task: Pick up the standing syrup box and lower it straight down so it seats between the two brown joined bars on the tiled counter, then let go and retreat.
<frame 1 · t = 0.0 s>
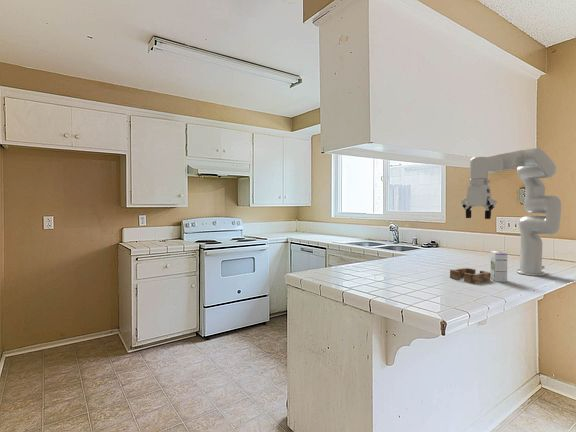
hand: (477, 218, 159), 31 cm above the worktop, tool pointing down, fingers open, 9 cm apart
syrup box: (498, 280, 164), on the worktop
brown joined bars: (469, 279, 167), on the worktop
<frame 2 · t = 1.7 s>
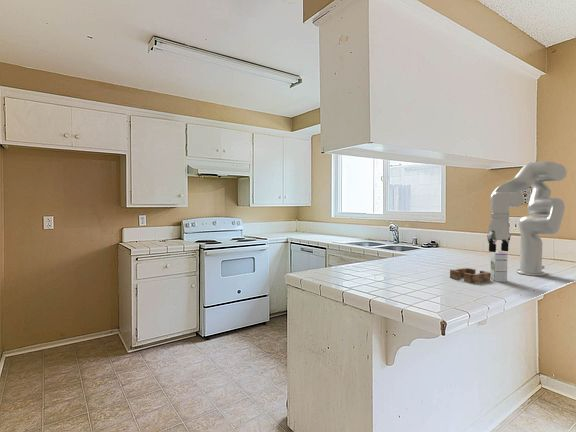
hand: (498, 251, 163), 15 cm above the worktop, tool pointing down, fingers open, 9 cm apart
nothing on the worktop moved.
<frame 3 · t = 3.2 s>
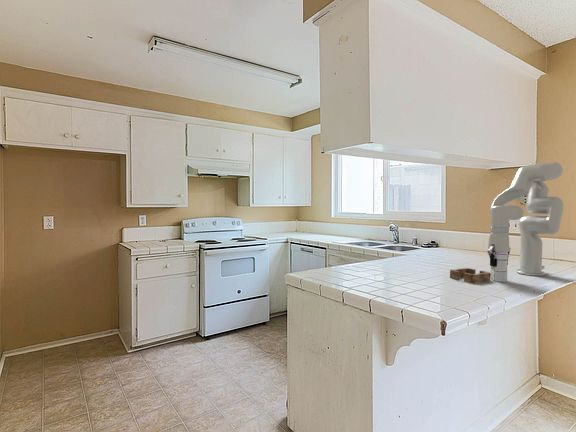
hand: (498, 265, 164), 8 cm above the worktop, tool pointing down, fingers closed on syrup box, 8 cm apart
syrup box: (498, 280, 164), on the worktop, touching gripper
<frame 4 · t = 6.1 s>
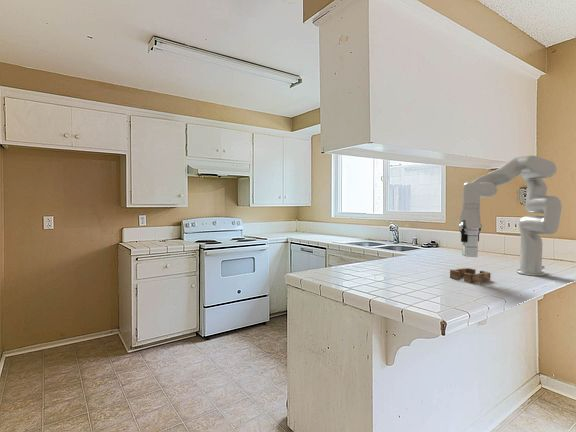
hand: (470, 241, 166), 19 cm above the worktop, tool pointing down, fingers closed on syrup box, 8 cm apart
syrup box: (469, 256, 166), point 12 cm above the worktop, touching gripper
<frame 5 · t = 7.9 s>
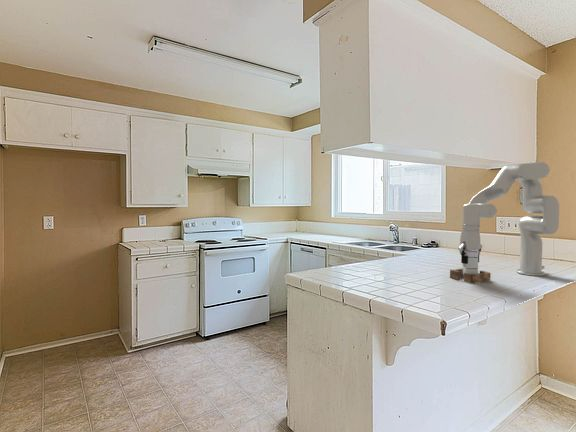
hand: (470, 262, 167), 8 cm above the worktop, tool pointing down, fingers closed on syrup box, 8 cm apart
syrup box: (470, 277, 167), point 1 cm above the worktop, touching gripper
when the fingers open (8 cm above the worktop, at t = 9.2 s): syrup box stays where it is, on the worktop.
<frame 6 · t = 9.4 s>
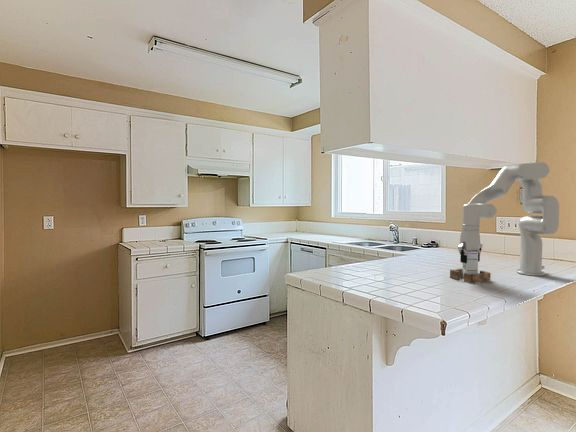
hand: (470, 261, 167), 9 cm above the worktop, tool pointing down, fingers open, 9 cm apart
syrup box: (469, 279, 167), on the worktop
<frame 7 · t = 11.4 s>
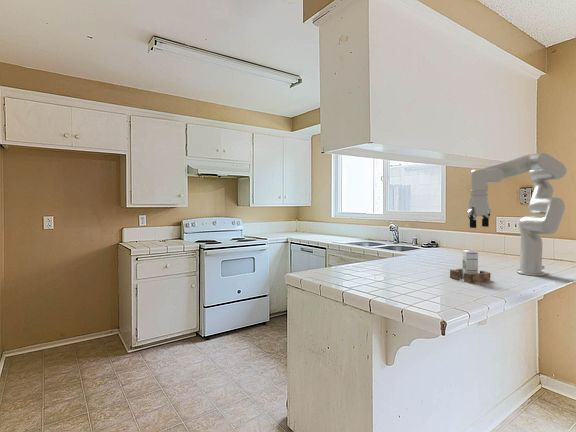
hand: (479, 227, 169), 26 cm above the worktop, tool pointing down, fingers open, 9 cm apart
nothing on the worktop moved.
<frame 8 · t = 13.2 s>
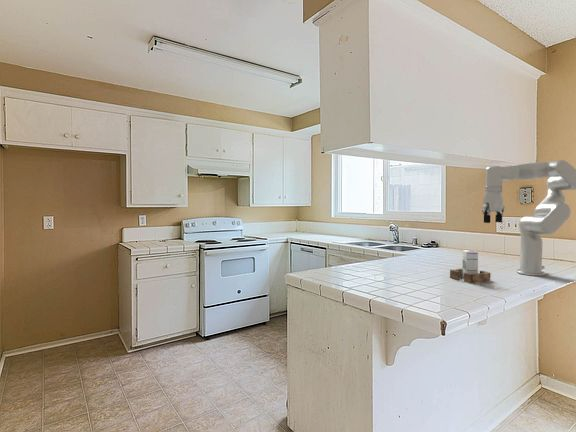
hand: (492, 222, 173), 28 cm above the worktop, tool pointing down, fingers open, 9 cm apart
nothing on the worktop moved.
at the end: syrup box 0.1 cm off-centre on the brown joined bars, point 0.0 cm above the brown joined bars's base; syrup box tilted 0°; the gripper is holding nothing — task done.
